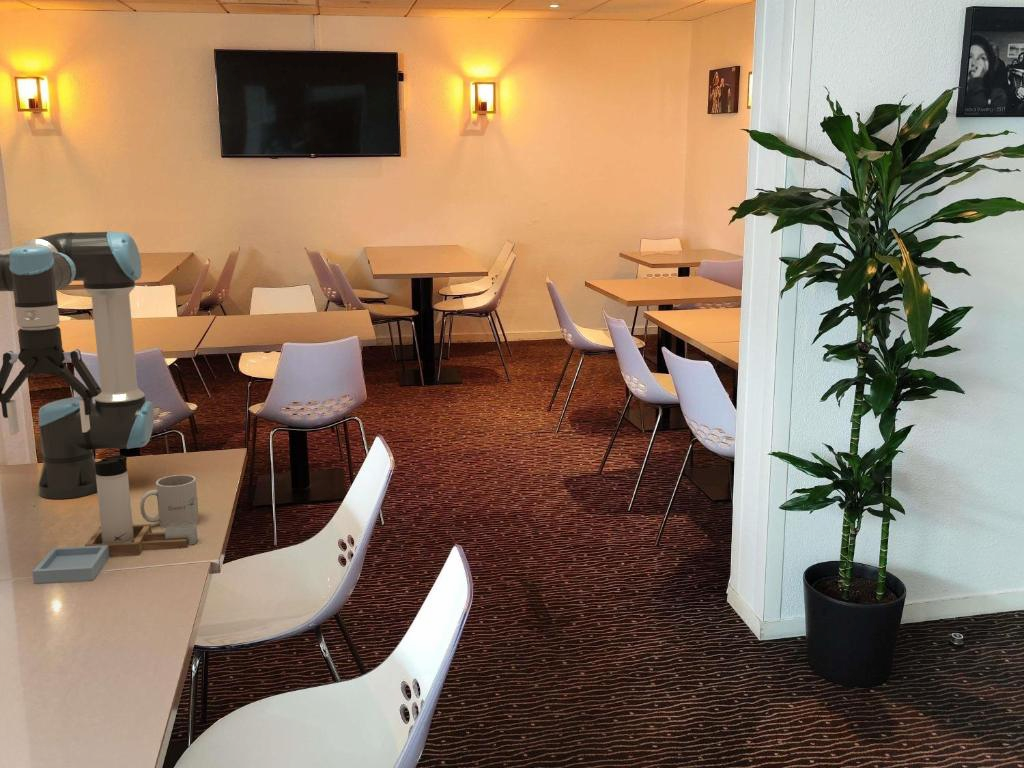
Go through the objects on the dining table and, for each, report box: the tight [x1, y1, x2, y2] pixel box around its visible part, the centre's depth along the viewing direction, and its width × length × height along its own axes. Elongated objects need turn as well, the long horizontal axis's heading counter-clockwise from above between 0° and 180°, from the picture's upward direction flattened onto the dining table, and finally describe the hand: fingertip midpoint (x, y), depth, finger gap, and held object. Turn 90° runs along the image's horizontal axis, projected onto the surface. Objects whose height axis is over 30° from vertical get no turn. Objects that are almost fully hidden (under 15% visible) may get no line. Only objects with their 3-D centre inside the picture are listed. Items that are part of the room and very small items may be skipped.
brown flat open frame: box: [84, 523, 188, 558], centre depth 206 cm, size 12×20×2 cm, turn 98°
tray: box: [32, 545, 110, 585], centre depth 193 cm, size 12×11×3 cm
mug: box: [139, 474, 200, 529], centre depth 218 cm, size 12×9×10 cm
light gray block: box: [164, 522, 198, 546], centre depth 207 cm, size 3×6×4 cm, turn 98°
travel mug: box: [95, 455, 135, 544], centre depth 203 cm, size 6×7×20 cm
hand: (50, 432), depth 191 cm, fingers open, 13 cm apart
